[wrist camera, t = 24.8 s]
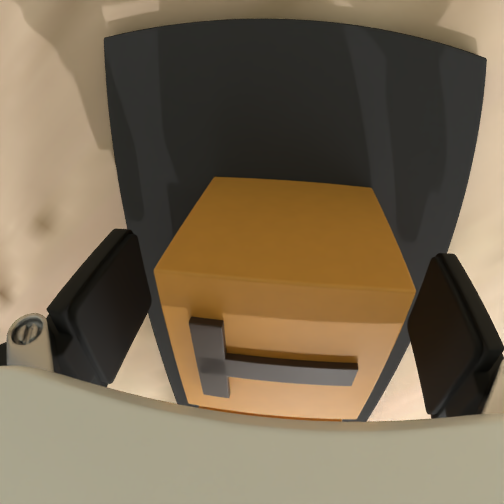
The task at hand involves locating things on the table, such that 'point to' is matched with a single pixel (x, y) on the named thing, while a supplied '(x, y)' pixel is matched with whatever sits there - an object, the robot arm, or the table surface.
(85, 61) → the table surface
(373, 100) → the word mat
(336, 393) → the letter T
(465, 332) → the robot arm
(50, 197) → the table surface
